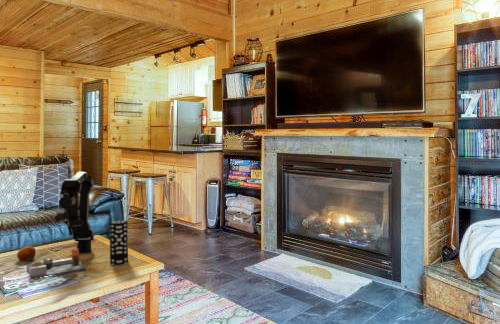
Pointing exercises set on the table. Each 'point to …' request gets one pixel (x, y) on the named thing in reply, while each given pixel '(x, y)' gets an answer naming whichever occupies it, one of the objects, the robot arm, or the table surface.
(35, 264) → the wooden ball
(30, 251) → the fruit
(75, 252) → the lever
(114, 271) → the table surface
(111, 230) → the spotted tube
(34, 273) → the base
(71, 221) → the robot arm
